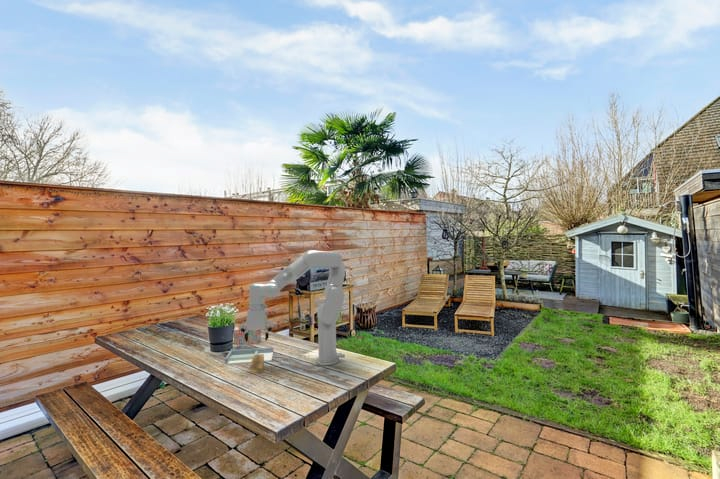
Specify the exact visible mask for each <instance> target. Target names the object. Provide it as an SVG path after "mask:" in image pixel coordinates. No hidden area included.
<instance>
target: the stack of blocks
mask: <svg viewBox="0 0 720 479" xmlns="http://www.w3.org/2000/svg"><path fill="white" fill-rule="evenodd" d="M234 327H235V329H234V344H233V345H254V344H257V345H259V344H260V343H261V342H262V330H249V331H248V341H247V342H246V340H245V334H244V333H243V332H242V331H241V329H240V327H239V326H238V327H237V326H234ZM243 328H244V329H245V330H246V325H244V326H243Z"/></svg>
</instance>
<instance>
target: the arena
mask: <svg viewBox="0 0 720 479" xmlns="http://www.w3.org/2000/svg"><path fill="white" fill-rule="evenodd" d="M258 354H264V363H266V362H272V361H273V360H272V359H273V355H274V347H273V346H272V347H260V348H258V347H257V348H245V349H244V348H243V349H231V350H229V352H228V354H227V355H226V357H225V359H224V364H227V365H236V364H237V365H238V364H239V365H240V364H252V359H253V356H254V355H258Z"/></svg>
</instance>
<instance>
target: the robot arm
mask: <svg viewBox="0 0 720 479" xmlns="http://www.w3.org/2000/svg"><path fill="white" fill-rule="evenodd" d="M312 268H328V269H329V273H328V278H327V281H326V282H327V283H326V285H325V288H324V291H323V295H324V297H325V300H324V302H323V303H321V304H320V305H319V306H318V308H317V313H316V314H317V315H316V316H317V326H318V328H317V334H318V338H317V341H318V357H317V358H316V359H315V363H316V364H318V365H320V366H332V365H335V364H339V361H340V358H344V359H345V358H346V355H345V353H342V352H337V325H336V324H337V321H338V320H339V317H340V315H341V311H342V308H343V304H344V300H345V290H343V286H344V281H345V277H346V267H345V262H344V261H343V256H342V254H341V253H340V252H339V251H335V250H329V251H326V250H315V249H309V250H307V251H305V252H303V254H301V255H300V256H299V257H298V258H296V259H294V261H292V262H291V263H290V264H289V265H288V266H286V267H285V268H284V269H283V270H282V271H280V272H278V274H277V275H275V276H274V277H273V278H272V279H270V280H269V281H268V282H267V283H263V282H253V283H250V285H249V286H248V287H249V290H248V292H249V293H248V294H249V295H248V296H249V297H248V308H249V309H247V313H246V321H244V322H242V323H240V324H238V327H240V329H241V331H242V332H243V333H244V334H245V340H246V342H247V341H248V331H249V330H261V331H262V330H264V333H265V339H264V341H265V342H266V341H268V340H269V332H271V331H272V330H273V328H274V325H275V323H274V322H272V321H269V320H268V314H267V312H268V311H267V309H266V308H268V304H266V303H265V302H266V300H265V299H266V298H269V299H274V298H277V297H278V296H279V295H280V293H281V290H282V289H284V288H285V287H286V285H288V284H289V283H291V282H293V281H297V280H298V279H300V278H301V277H302V276H303V275H304V274H306V273H307V272H308V271H309V270H310V269H312ZM244 325H246V330H245V329H244V328H243V326H244ZM268 325H270V327H268Z"/></svg>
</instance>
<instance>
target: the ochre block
mask: <svg viewBox="0 0 720 479" xmlns="http://www.w3.org/2000/svg"><path fill="white" fill-rule="evenodd" d="M264 367H265V362H264V354H258V355H254V356H253V359H252V363H251V374H258V373H263V370H264Z"/></svg>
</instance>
